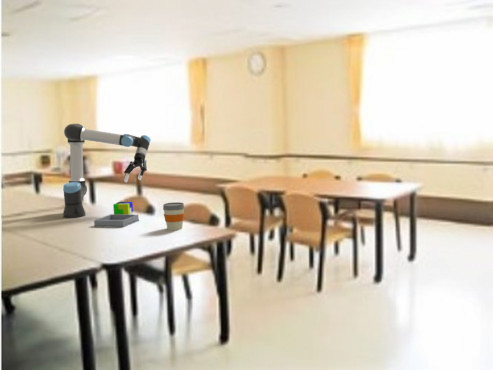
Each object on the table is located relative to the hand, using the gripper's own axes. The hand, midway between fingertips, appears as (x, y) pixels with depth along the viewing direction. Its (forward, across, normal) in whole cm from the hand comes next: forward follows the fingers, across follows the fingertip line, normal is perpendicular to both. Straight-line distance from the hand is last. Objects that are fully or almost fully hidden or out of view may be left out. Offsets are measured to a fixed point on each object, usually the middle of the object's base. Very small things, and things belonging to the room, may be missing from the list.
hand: (132, 180), depth 371 cm
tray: (+38, -10, +9) cm, 41 cm away
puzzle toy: (+27, +1, -4) cm, 27 cm away
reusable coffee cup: (+43, -56, +3) cm, 70 cm away
